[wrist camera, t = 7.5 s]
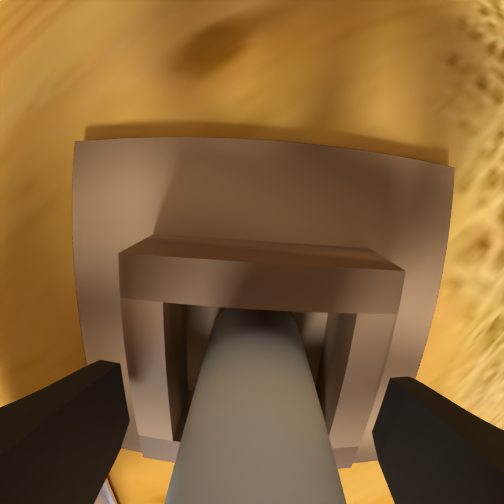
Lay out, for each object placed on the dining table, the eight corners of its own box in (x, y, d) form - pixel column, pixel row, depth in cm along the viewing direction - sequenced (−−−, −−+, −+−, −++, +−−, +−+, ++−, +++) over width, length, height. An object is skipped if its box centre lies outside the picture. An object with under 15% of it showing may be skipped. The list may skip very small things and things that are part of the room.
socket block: (380, 451, 14) (399, 501, 10) (110, 436, 14) (85, 484, 10) (446, 167, 11) (505, 166, 7) (82, 143, 11) (25, 133, 7)
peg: (295, 376, 12) (340, 618, 2) (212, 374, 12) (164, 617, 2) (302, 298, 11) (402, 572, 2) (210, 296, 11) (112, 572, 2)
